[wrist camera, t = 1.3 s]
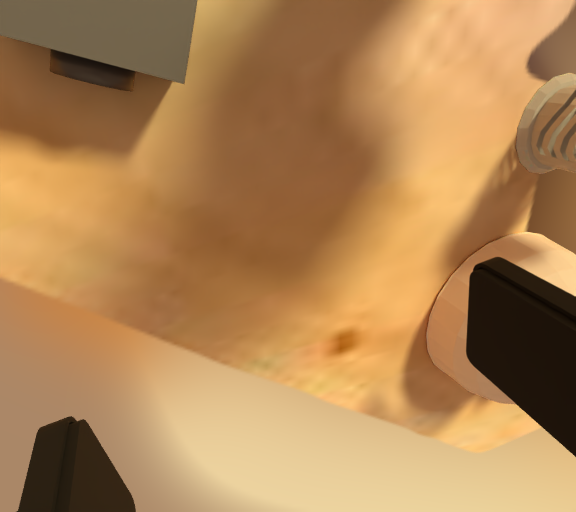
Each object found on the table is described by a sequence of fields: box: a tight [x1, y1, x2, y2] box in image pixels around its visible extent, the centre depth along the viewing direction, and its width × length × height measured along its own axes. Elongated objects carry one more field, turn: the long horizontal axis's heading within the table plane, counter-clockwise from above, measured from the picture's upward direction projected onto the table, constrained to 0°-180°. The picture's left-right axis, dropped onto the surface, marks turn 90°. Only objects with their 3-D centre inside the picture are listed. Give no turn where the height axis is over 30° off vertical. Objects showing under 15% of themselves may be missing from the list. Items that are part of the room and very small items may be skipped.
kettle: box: [426, 232, 576, 404], centre depth 43 cm, size 20×21×18 cm
